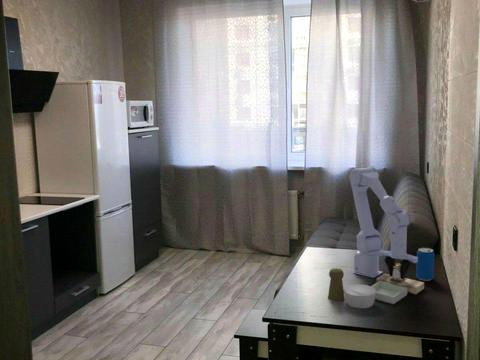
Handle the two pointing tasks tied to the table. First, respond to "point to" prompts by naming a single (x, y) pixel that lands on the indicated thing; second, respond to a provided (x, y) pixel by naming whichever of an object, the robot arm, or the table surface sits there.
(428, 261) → the beverage can
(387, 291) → the tray
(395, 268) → the white and gold cylinder
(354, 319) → the table surface
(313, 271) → the table surface
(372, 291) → the ramekin
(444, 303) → the table surface
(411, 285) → the wooden block with hole
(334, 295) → the cork
